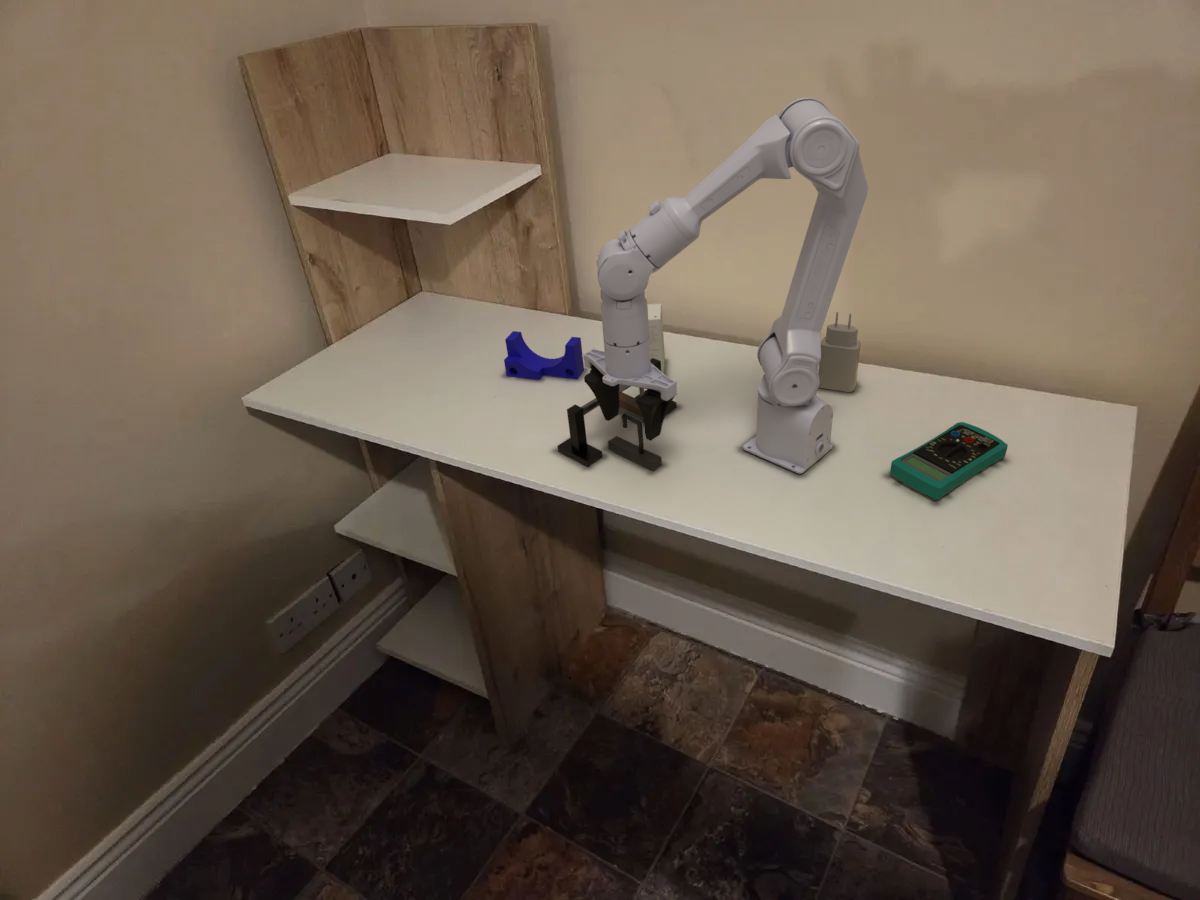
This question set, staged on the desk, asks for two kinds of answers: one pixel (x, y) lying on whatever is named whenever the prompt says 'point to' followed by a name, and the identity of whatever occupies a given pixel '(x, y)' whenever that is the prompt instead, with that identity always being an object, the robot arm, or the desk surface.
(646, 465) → the black hanger
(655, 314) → the small box
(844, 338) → the power adapter
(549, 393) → the desk surface
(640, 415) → the walnut hanger
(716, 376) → the desk surface
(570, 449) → the rail stand
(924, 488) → the digital multimeter
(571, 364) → the blue curved cradle bracket
